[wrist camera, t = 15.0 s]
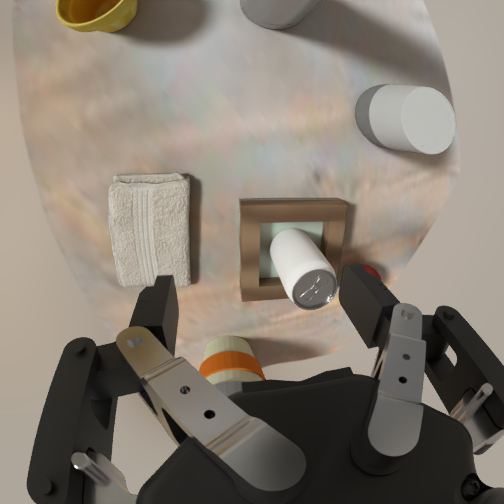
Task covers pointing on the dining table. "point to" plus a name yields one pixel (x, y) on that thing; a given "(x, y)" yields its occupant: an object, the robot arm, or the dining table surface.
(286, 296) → the holder
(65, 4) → the plant pot
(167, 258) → the washcloth
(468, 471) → the robot arm
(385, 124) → the smart speaker
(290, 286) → the can
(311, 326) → the dining table surface
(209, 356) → the reusable coffee cup
